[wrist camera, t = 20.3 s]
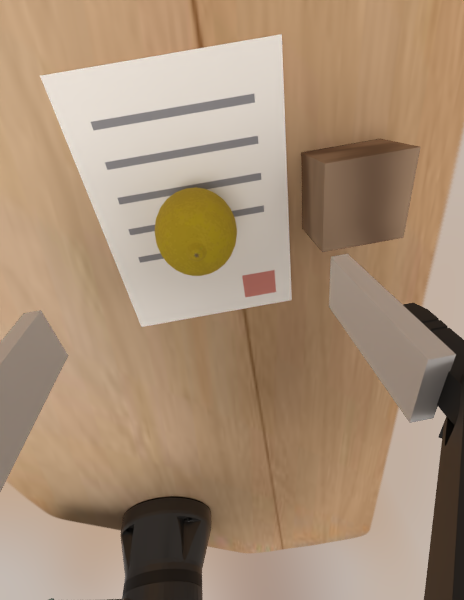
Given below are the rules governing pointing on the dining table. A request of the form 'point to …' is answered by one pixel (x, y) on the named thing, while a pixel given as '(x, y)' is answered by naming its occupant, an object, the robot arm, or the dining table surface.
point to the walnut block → (357, 192)
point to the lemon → (195, 231)
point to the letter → (185, 167)
